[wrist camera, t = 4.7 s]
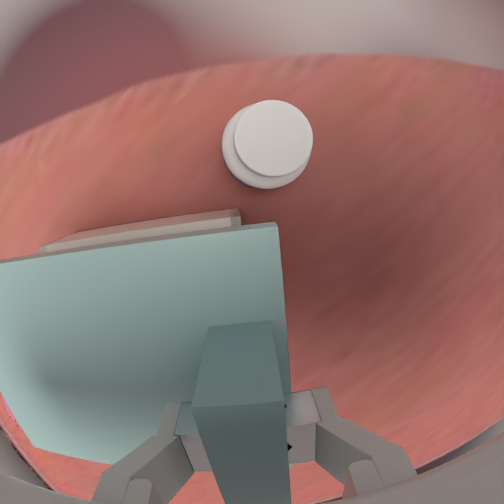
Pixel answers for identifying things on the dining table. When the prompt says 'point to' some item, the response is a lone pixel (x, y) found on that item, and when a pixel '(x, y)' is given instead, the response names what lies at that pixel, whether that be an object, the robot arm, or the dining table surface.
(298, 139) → the pill bottle
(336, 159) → the dining table surface
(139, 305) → the lid
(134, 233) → the tub
